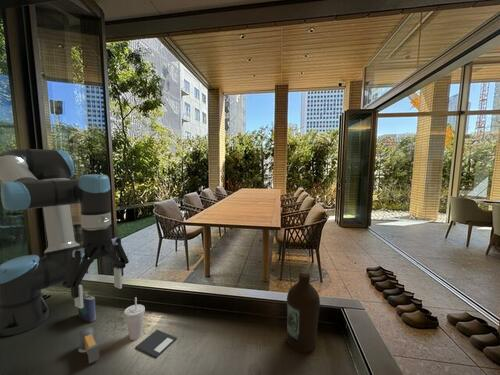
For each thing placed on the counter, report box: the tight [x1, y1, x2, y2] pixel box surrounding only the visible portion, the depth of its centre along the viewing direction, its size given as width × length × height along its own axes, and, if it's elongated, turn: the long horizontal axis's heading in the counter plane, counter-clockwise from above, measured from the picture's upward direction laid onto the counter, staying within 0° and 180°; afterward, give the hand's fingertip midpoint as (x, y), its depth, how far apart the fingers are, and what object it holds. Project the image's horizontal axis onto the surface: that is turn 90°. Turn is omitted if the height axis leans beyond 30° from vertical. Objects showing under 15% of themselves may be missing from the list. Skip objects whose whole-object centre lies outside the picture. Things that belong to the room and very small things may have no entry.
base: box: [77, 339, 98, 354], centre depth 79 cm, size 5×5×1 cm
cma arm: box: [79, 326, 100, 364], centre depth 76 cm, size 11×4×5 cm, turn 44°
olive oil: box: [286, 268, 321, 354], centre depth 82 cm, size 11×11×25 cm
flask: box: [77, 290, 97, 323], centre depth 93 cm, size 9×3×11 cm, turn 61°
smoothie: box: [123, 296, 146, 341], centre depth 84 cm, size 6×6×14 cm
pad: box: [135, 329, 178, 359], centre depth 81 cm, size 9×9×1 cm
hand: (100, 296), depth 76 cm, fingers open, 11 cm apart
